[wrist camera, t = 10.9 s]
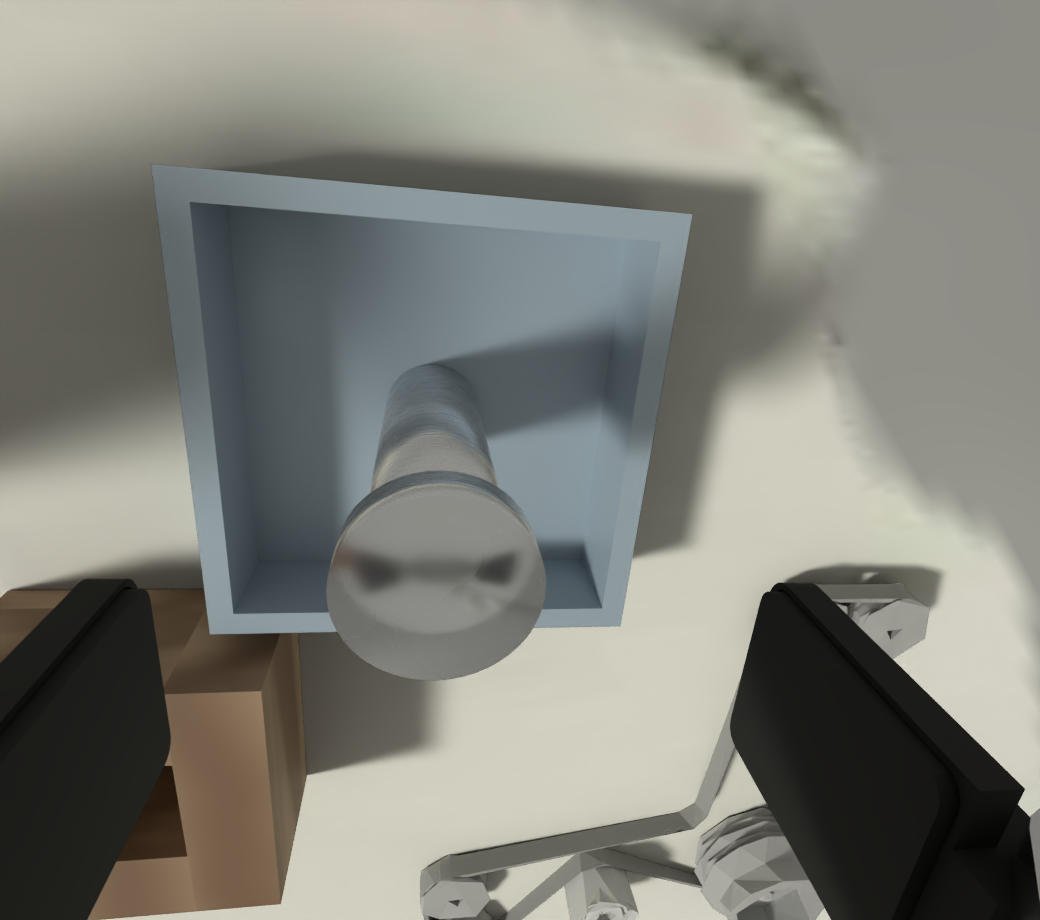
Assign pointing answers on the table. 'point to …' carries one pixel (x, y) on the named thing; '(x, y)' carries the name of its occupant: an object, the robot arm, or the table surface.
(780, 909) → the pulley system
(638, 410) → the pin tray
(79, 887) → the robot arm
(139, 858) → the block
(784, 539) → the table surface
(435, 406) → the lock pin
